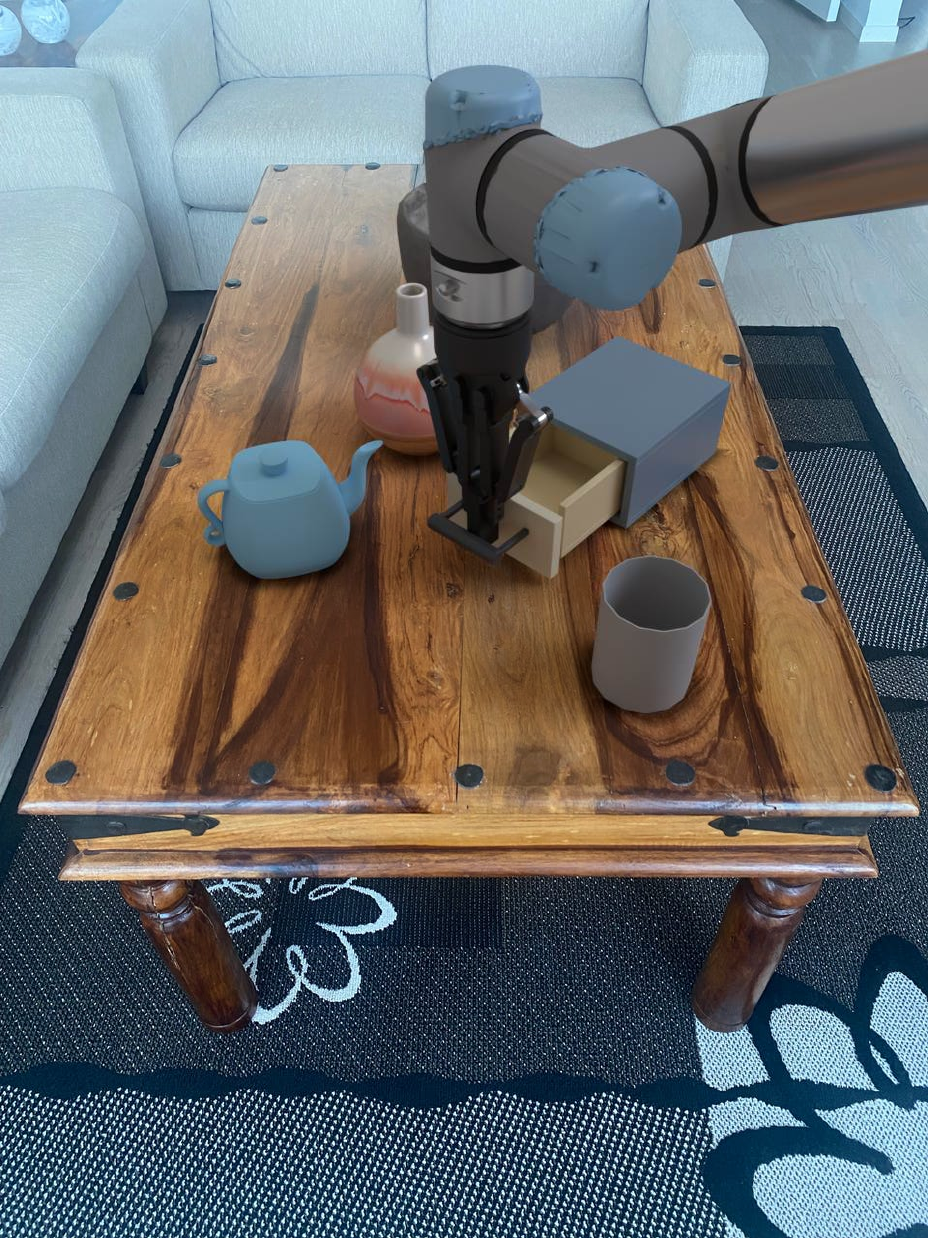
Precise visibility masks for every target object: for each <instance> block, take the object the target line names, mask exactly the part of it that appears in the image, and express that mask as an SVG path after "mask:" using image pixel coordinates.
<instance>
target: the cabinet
mask: <svg viewBox="0 0 928 1238" xmlns="http://www.w3.org/2000/svg"><path fill="white" fill-rule="evenodd" d="M731 388H732V382H731V381H728V380H726V379H723V378H721V377H718V376H716V375H714V374H711V373H709V372H707V371H704V370H701V369H699V368H697V367H694V366H692V365H690V364H687V363H684V362H682V361H681V360H677V359H675V358H672V357H670V356H668V355H665V354H663V353H660V352H658V351H656V350H654V349H651V348H649V347H647V346H645V345H641V344H639V343H636V342H634V341H631V340H629V339H627V338H625V337H622V336H619V335H616V336H614V337H613V338H611V339H610V340H608V341H607V342H605V343H604V344H602V345H601V346H599V347H598V348H596V349H595V350H594V351H592V352H590V353H589V354H587V355H585V356H584V357H583V358H581V359H580V360H578V361H577V362H575V363H574V364H572V365H571V366H569V367H568V368H566V369H565V370H563V371H562V372H560V373H559V374H557V375H556V376H554V377H553V378H551V379H550V380H548V381H546V382H545V383H544V384H542V385H541V386H539V387H537V388H536V389H535V390H533V391H532V392H529V394H528V395H529V396H530V397H531V399H532V400H533V401H534V402H535V404H536V405H537V406H538V407H539V409H541V408H543V407H544V406H547V407H549V408H550V409H551V410H552V412H553V415H554V416H553V419H552V420H551V421H550V422H549V423H550V424H552V425H554V426H556V427H558V428H560V429H562V430H564V431H566V432H568V433H570V434H572V435H574V436H576V437H578V438H580V439H582V440H584V441H586V442H588V443H590V444H593V445H595V446H597V447H599V448H601V449H603V450H605V451H607V452H609V453H611V454H613V455H615V456H617V457H619V458H621V459H623V460H625V461H627V462H628V466H627V473H626V480H625V487H624V494H623V500H622V507H621V509H620V510H619V511H618V512H617V513H615V514H614V515H613V516H612V517H611V518H609V519H608V520H607V521H610V522H612V523H614V524H615V525H617V526H619V527H621V528H623V529H624V530H627V529H628V528H629V527H630V526H631V525H633V524H634V523H635V522H636V521H637V520H638V519H640V518H641V517H642V516H643V515H645V514H646V513H647V512H649V510H651V509H652V508H653V507H654V506H655V505H656V504H658V503H659V502H660V501H661V500H662V499H663V498H664V497H666V496H667V495H668V494H669V493H671V492H672V491H673V490H674V489H675V488H676V487H677V486H678V485H680V484H681V483H682V482H683V481H684V480H685V479H687V478H688V477H689V476H690V475H691V474H693V473H694V472H695V471H696V470H697V469H699V468H700V467H701V466H702V465H703V464H704V463H706V462H707V461H708V460H709V459H710V458H712V456H714V455H715V454H716V452H717V448H718V444H719V439H720V435H721V431H722V427H723V422H724V418H725V415H726V414H725V413H726V409H727V405H728V400H729V396H730V392H731Z"/></svg>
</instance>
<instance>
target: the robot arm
mask: <svg viewBox="0 0 928 1238" xmlns="http://www.w3.org/2000/svg"><path fill="white" fill-rule="evenodd" d="M541 91H542V90H541V89H540V86H539V85H538V83H537V81H536V79H535V77H534V76H533V75H532V74H530V72H527V71H525V70H523V69H520V68H517V67H513V66H508V65H501V64H475V65H467V66H462V67H457V68H453V69H449V70H447V71H445V72H443V73H441V74H439V75H438V76H436V77H435V78H434V79H433V80H431V82H430V83H429V84H428V87H427V89H426V91H425V97H424V141H423V142H422V150H423V151H424V152H423V153H424V168H425V182H426V189H427V206H428V223H429V239H430V248H431V250H430V256H431V277H432V298H433V304H434V306H435V308H434V311H433V324H432V326H433V332H434V350H435V354H436V356H437V357H436V358H434V359H433V360H431V361H429V362H428V363H426V364H424V365H422V366H421V367H419V368H418V369H417V370H416V374H417V376H418V379H419V381H420V383H421V385H422V387H423V389H424V391H425V393H426V396H427V401H428V405H429V409H430V414H431V418H432V422H433V427H434V431H435V435H436V439H437V444H438V448H439V456H440V461H441V465H442V468H443V470H444V472H445V473H446V472H447V473H449V474H451V473H452V472H453V473H454V474H455V475H456V476H458V482H459V484H460V485H461V486H462V507H463V510H464V511H465V512H467V530H468V531H469V532H471V533H473V534H474V535H476V536H478V537H480V538H481V539H483V540H485V541H486V542H488V543H490V544H493V543H494V542H495V541H496V540H498V539H499V521H500V520H502V519H503V517H504V503H505V502H506V501H508V500H509V499H510V498H512V497H513V496H514V495H516V494H517V493H518V492H520V491H521V490H522V489H524V487H525V484H526V480H527V477H528V474H529V471H530V468H531V464H532V461H533V458H534V455H535V452H536V448H537V445H538V442H539V439H540V436H541V432H542V430H543V428H544V427H545V426H546V425H547V424H548V423H549V422H550V421H551V420H552V419H553V416H554V415H553V412H552V410H551V409H550V408H549V407H547V406H544V407H543V408H541V409H539V407H538V406H537V405H536V404H535V402H534V401H533V400H532V399H531V397H530V396H529V394H530V390H531V387H530V382H529V379H528V377H527V373H526V368H527V363H528V361H529V358H530V355H531V351H532V338H533V337H532V309H531V305H532V303H533V300H534V273H535V274H537V275H538V276H540V277H541V278H543V279H544V280H546V281H547V282H549V284H550V285H551V286H552V287H553V288H555V289H556V290H558V291H559V292H561V293H565V294H567V295H568V296H570V297H575V299H579V300H580V301H582V302H584V303H586V304H588V305H590V306H592V307H594V308H595V309H597V310H601V311H605V312H619V311H624V310H628V309H632V308H633V307H635V306H637V305H638V304H641V303H643V301H645V299H646V296H647V294H648V293H649V292H650V291H651V290H652V289H655V288H658V287H659V286H660V285H661V284H662V283H663V282H664V280H665V279H666V277H667V276H668V274H669V273H670V271H671V269H672V267H673V265H674V264H675V261H676V258H677V255H680V254H682V253H684V252H686V251H690V250H692V249H694V248H696V247H698V246H701V245H705V244H707V243H710V242H715V241H717V240H720V239H723V238H726V237H730V236H733V235H739V234H742V233H747V232H748V233H749V232H756V231H763V230H768V229H775V228H780V227H787V226H791V225H794V224H801V223H809V222H815V221H823V220H831V219H838V218H844V217H845V218H846V217H852V216H853V217H854V216H859V215H865V214H866V215H867V214H874V213H881V212H888V211H896V210H902V209H909V208H917V207H924V206H928V48H923V49H921V50H918V51H914V52H911V53H908V54H904V55H902V56H898V57H895V58H890V59H888V60H885V61H880V62H877V63H875V64H871V65H867V66H865V67H861V68H858V69H855V70H851V71H847V72H844V73H841V74H837V75H834V76H831V77H827V78H824V79H821V80H818V81H813V82H811V83H808V84H804V85H800V86H797V87H794V88H791V89H787V90H784V91H782V92H780V93H776V94H772V95H767V96H760V97H756V98H751V99H747V100H746V101H743V102H739V103H735V104H733V105H731V106H727V107H726V108H723V109H720V110H716V111H713V112H710V113H709V112H708V113H706V114H703V115H700V116H697V117H693V118H690V119H687V120H683V121H680V122H677V123H674V124H671V125H667V126H662V127H659V128H655V129H652V130H648V131H644V132H640V133H639V134H634V135H631V136H627V137H624V138H620V139H616V140H614V141H610V142H607V143H603V144H600V145H596V146H592V147H583V146H579V145H577V144H574V143H572V142H571V141H568V140H566V139H564V138H561V137H559V136H557V135H554V134H553V133H552V132H550V131H548V130H546V129H544V128H542V126H541V125H542V120H543V117H544V113H543V110H542V98H541V95H542V94H541ZM515 410H516V411H517V413H516V417H515V420H514V421H513V419H514V415H515V413H514V412H515ZM511 423H513V427H515V428H516V429H515V431H514V432H513V434H512V437H511V440H510V443H509V430H510V427H511ZM454 452H456V453H455V454H454Z"/></svg>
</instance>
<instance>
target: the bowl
mask: <svg viewBox="0 0 928 1238" xmlns="http://www.w3.org/2000/svg"><path fill="white" fill-rule="evenodd" d="M396 232H397V233H396V234H397V240H398V241H397V242H398V248H399V254H400V262H401V269H402V272H403V276H404V280H405V284H407V283H418V284H421V285H423V286H424V287H425V288H426V289H427V296H428V310H429V324H432V325H433V311H434V308H435V306H434V304H433V298H432V277H431V256H430V250H431V248H430V239H429V223H428V206H427V189H426V181H425V182H423V183H420V184H419V185H418V186H416V187H415V188H414V189H412V190H410V191H409V192H407V193H406V194H405V195H404V197H403V198H402V199H401V201H400V202H399V203H398V208H397V214H396ZM575 299H576V297H570V296H568V295H567V294H565V293H561V292H559V291H558V290H556V289H555V288H553V287H552V286H551V285H550V284H549V282H547V281H546V280H544V279H543V278H541V277H540V276H538V275H537V274H535V273H534V300H533V303H532V305H531V309H532V336H535V335H537V334H540V333H541V332H543V331H545V330H547V329H548V328H549V327H551V326H552V325H553V324H555V323H556V322H557V321H558V320H561V318H562V317H563V316H564V314H565V313H566V312H567V311H568V310H569V309H570V307H571V306H572V304H573V302H574V300H575Z"/></svg>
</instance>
